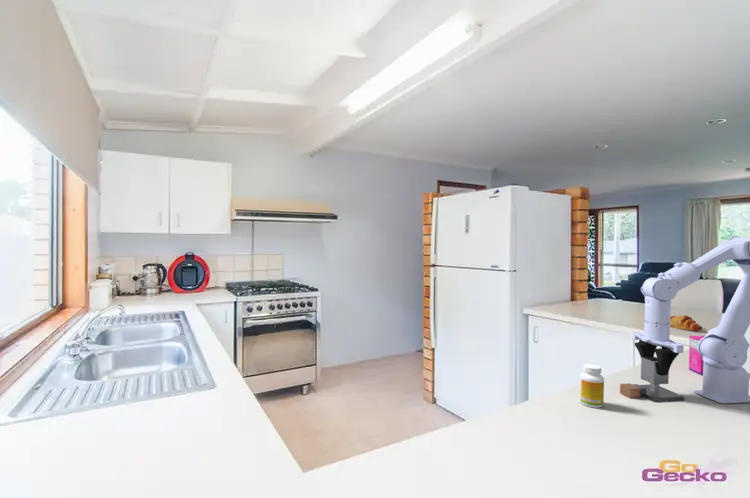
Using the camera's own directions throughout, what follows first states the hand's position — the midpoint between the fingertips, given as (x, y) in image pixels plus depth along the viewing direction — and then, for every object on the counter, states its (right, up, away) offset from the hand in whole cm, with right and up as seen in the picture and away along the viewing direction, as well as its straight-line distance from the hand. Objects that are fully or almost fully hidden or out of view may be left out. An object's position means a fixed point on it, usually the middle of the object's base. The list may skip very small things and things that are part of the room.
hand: (655, 371), depth 110 cm
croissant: (+75, -6, +89) cm, 116 cm away
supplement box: (+29, -6, +20) cm, 36 cm away
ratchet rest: (-2, -6, 0) cm, 7 cm away
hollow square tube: (0, -3, 0) cm, 3 cm away
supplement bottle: (-21, -6, -7) cm, 23 cm away
